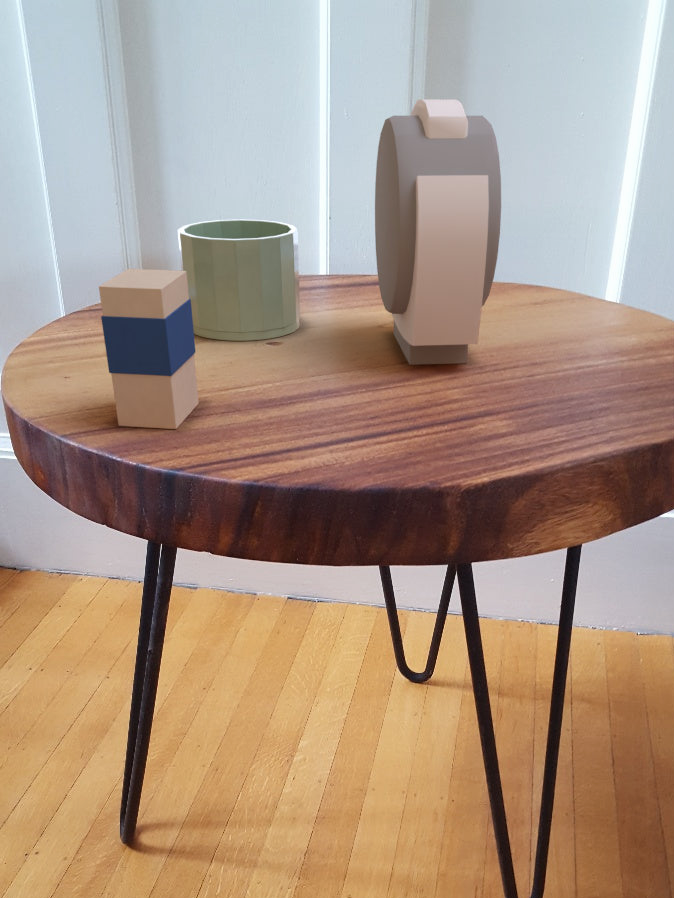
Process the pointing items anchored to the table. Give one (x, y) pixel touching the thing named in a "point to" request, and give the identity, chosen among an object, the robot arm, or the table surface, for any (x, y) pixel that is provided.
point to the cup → (241, 278)
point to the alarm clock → (437, 227)
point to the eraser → (150, 347)
